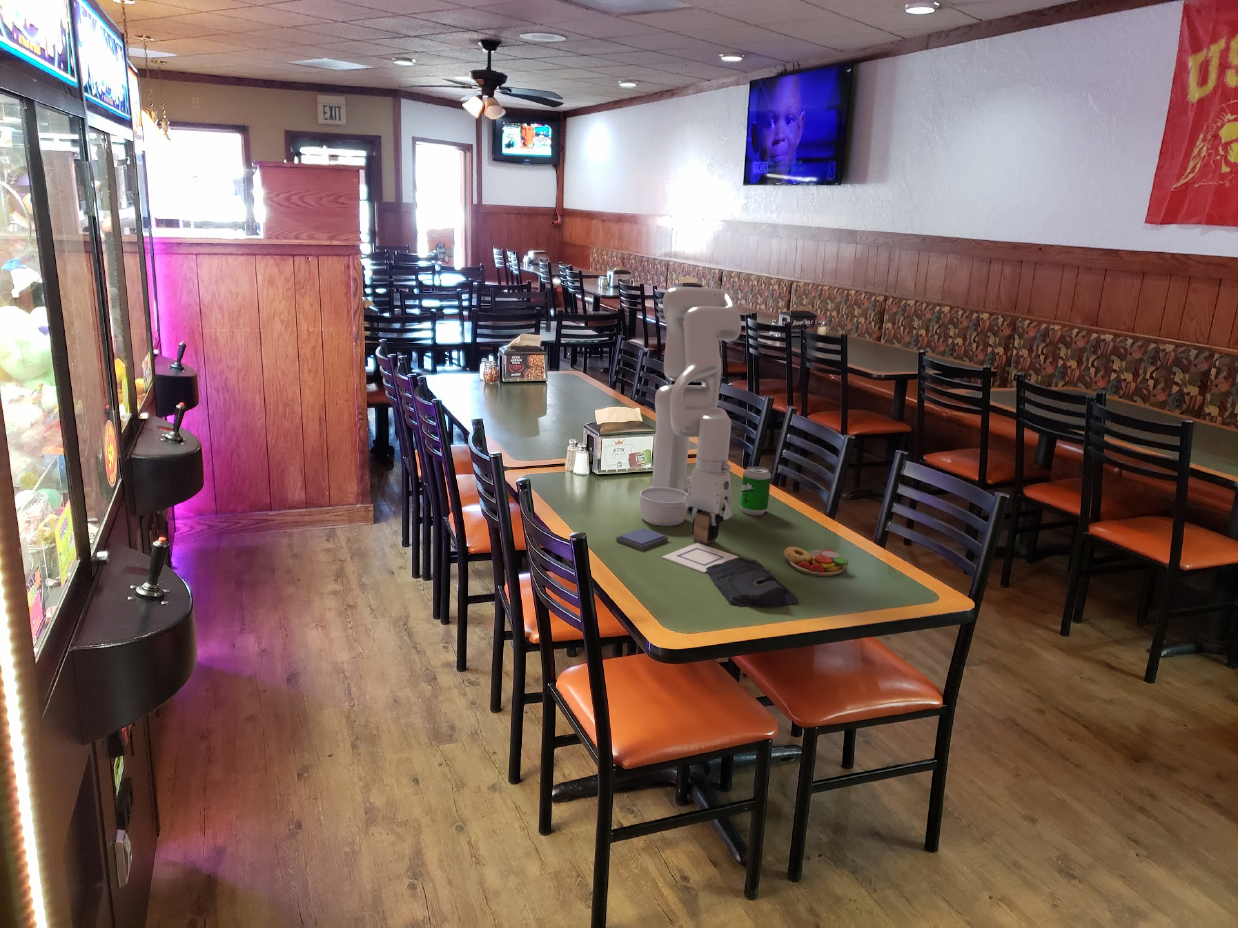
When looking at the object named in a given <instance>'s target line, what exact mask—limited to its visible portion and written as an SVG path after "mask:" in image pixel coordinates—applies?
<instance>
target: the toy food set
mask: <svg viewBox="0 0 1238 928" xmlns="http://www.w3.org/2000/svg"><path fill="white" fill-rule="evenodd" d="M783 556H784V557H785V558H786V559H787V560H788V562H789V564H790V565H791V566H792V567H793V568H794V569H795V570H797V571H799V572H801V573H804V574H806V575H812V576H815V577H817V576H818V577H834V576H836V575H840V574H841V573H842V572H844V571H845V568H846V567H848V565H849V563H848V562H849V561H848V559H846V558H843V557H840V554H838V553H837V552H836V551H834V550H832V549H824V550H820V549H815V548H813V547H807V548H804V549H803V548H800V547H796V546H788V547H786V548H785V550H784V552H783Z"/></svg>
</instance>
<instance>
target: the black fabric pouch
mask: <svg viewBox="0 0 1238 928" xmlns="http://www.w3.org/2000/svg"><path fill="white" fill-rule="evenodd" d="M706 570H707V572H705V573H706V574H707V575H708V577H709V578H710V580H711V581H712V583H713V584H714V586H715V587H716V588H717V590H718V591H719V592H720V594H722V596H723V597H724V598H725V600H726V602H727V601H728V602H727V603H728V604H729V605H730V606H736V607H739V608H760V609H761V608H762V609H766V608H782V607H786V606H791V605H797V604H799V599H798V598H797V596H796V595H795V594H794V593H793V592H792V591H791V590H790V589H788V588H787V587H786V586H785V585H783V584H782V583H781V582H780V581H779V580H778V579H777V578H776V577H775V576H774V575H773V574H772V573H770V572H771V571H768V570H767V569H766V568H765V567H764V566H763V565H762V564H761V563H760V562H759V561H758V560H756V559H751V558H745V557H739V558H734V559H731V560H728V561H725V562H723V563H720V564H715V565H712V566H709V567H708V568H706Z"/></svg>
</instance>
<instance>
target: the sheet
mask: <svg viewBox="0 0 1238 928" xmlns="http://www.w3.org/2000/svg"><path fill="white" fill-rule="evenodd" d="M734 558H740V557H739V556H738V555H734V554H732V553H730V552H729V553H728V552H725V551H723V550H719V549H717V548H714V547H710V546H707V545H705V544H702V543H699V542H696V543H693V544H691V545H687V546H686V547H683V548H680V549H678V550H676V551H672V552H671V553H668V554H665V555H662V556H661V559H664V560H667V561H670V562H673V563H675V564H678V565H681V566H684V567H687V568H689V569H692V570H694V571H697V572H700V573H703V574H705V573H706V572H707V570H706V568H708V567H709V566H712V565H715V564H720V563H723V562H725V561H728V560H731V559H734Z"/></svg>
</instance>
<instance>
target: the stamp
mask: <svg viewBox="0 0 1238 928" xmlns="http://www.w3.org/2000/svg"><path fill="white" fill-rule="evenodd" d="M709 525H711V513H709V512H706V511H701V512H698V513H696V514H695V523H694V534H693V535H692V536H693V537H692V539H693V541H694V542H696V543H699V544H702V545H705V546H707V545H709V544H711V543H715V542H716V539H714V540H712V541H709V540H708V534H709ZM714 541H715V542H714Z"/></svg>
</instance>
